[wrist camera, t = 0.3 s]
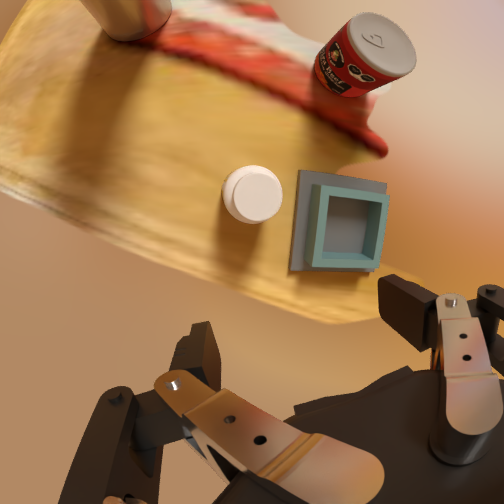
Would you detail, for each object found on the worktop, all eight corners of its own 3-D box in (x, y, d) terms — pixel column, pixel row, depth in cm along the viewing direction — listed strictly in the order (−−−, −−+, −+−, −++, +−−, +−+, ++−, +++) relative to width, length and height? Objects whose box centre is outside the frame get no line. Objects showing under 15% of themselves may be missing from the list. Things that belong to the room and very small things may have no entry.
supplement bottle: (259, 220, 32) (277, 239, 23) (215, 206, 31) (214, 219, 22) (275, 176, 31) (299, 177, 22) (230, 161, 30) (236, 154, 20)
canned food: (304, 49, 27) (338, 7, 16) (357, 48, 27) (401, 17, 17) (322, 101, 29) (365, 74, 18) (374, 97, 29) (426, 77, 19)
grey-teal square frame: (298, 169, 31) (309, 169, 27) (382, 182, 33) (400, 184, 29) (288, 267, 34) (297, 279, 30) (370, 269, 36) (385, 279, 32)
